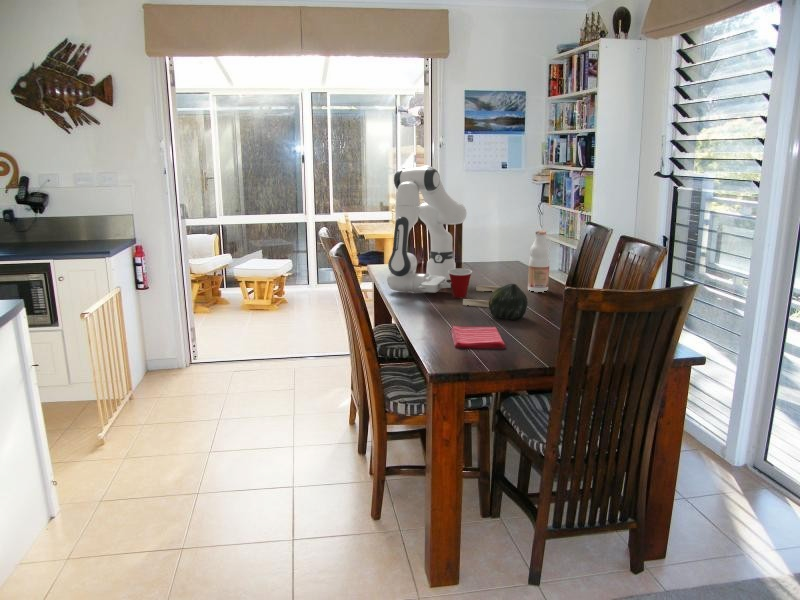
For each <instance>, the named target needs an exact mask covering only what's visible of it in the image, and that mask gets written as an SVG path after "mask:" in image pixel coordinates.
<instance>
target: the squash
mask: <svg viewBox="0 0 800 600" xmlns="http://www.w3.org/2000/svg"><path fill="white" fill-rule="evenodd" d="M499 287H500V288H498V289H496V290H495V291H494V292H491V295H490V298H489V299H488V301H489V307H488V309H489V311H490V314H491V315H492V317H495V318H497V319H499V318H500V319H503V318H504V319H506V320H511V321H516V320H520V319H522V317H524V316H525V314H526V312H527V308H528V306H529V305H528V303H529V302H528V297H527V295H526V293H524V291H523V290H522V289H521V288H520V287H519V286H518V285H517V284H516V283H509V284H505V285H503V286H499Z"/></svg>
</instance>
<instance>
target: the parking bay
mask: <svg viewBox="0 0 800 600" xmlns="http://www.w3.org/2000/svg"><path fill="white" fill-rule="evenodd" d="M500 287H501V286H496V285H495V286H494V285H491V286H489V285H480V284H479V285H476V292H484V291H492V292H491V293H493V292H494V291H495V290H496V289H498V288H500ZM467 305H469V306H470V307H480V308H481V307H482V308H483V307H484V308H489V300H482V299H468V298H462V306H467ZM469 306H468V307H469Z"/></svg>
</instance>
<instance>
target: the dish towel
mask: <svg viewBox="0 0 800 600" xmlns="http://www.w3.org/2000/svg"><path fill="white" fill-rule="evenodd" d="M451 336H452V341H453V345H454V347H455V349H505V348H506V343H505V342H504V340H503V339H502V336H501V334H500V332H499V330H498V329H497V327H496V326H458V325H451Z"/></svg>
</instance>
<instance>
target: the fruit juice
mask: <svg viewBox="0 0 800 600" xmlns="http://www.w3.org/2000/svg"><path fill="white" fill-rule="evenodd" d="M546 236H547V231H544V230H535V238H534V241H533V243H532V245H531V246H530V247H529V248H530V249H529V254H530V258H529V260H528V261H529V262H528V275H527V276H528V277H527V290H528V291H529V290H530V291H529V292H531V291H534V292H533V293H538V292H542V293H545V292H544V291H547V290H548V291H549V283H550V281H549V279H550V278H549V277H550V258H549V255H550V253H551V250H550V246H549V245H548V243H547V239H546ZM548 291H547V292H548Z"/></svg>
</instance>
